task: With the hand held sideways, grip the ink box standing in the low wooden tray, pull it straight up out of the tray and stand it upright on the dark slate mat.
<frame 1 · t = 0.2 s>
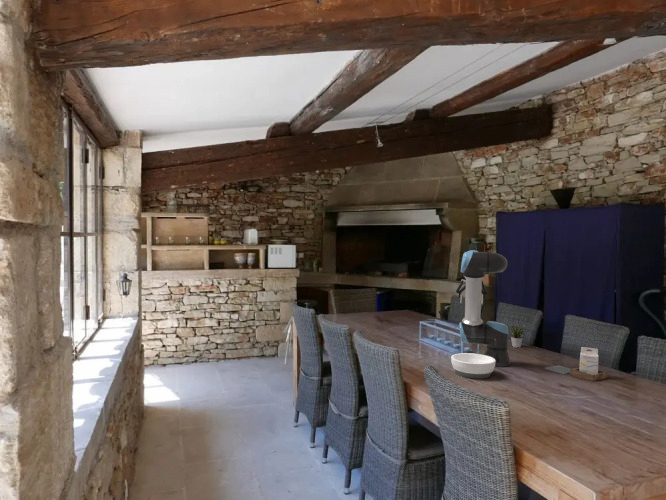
hand: (471, 302, 329), 28 cm above the table, tool tilted 20°, fingers open, 13 cm apart
wooden tray: (588, 376, 255), on the table
bowl: (472, 374, 257), on the table
ink box: (588, 376, 255), resting in wooden tray
house plant: (514, 346, 323), on the table
slate mat: (561, 370, 267), on the table
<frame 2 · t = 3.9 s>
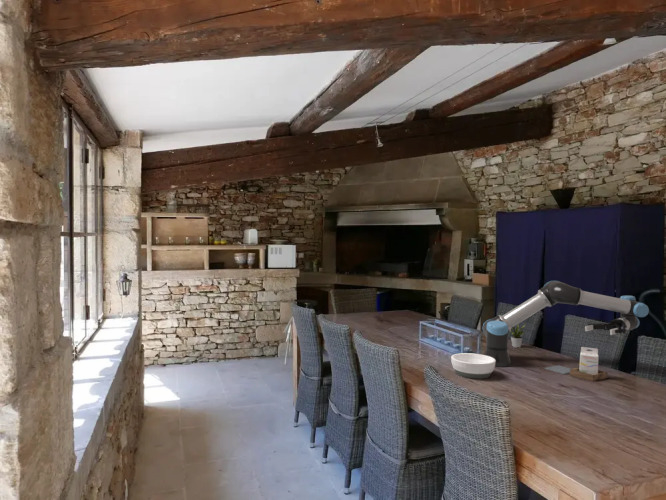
hand: (598, 330, 263), 23 cm above the table, tool horizontal, fingers open, 13 cm apart
nothing on the table moved.
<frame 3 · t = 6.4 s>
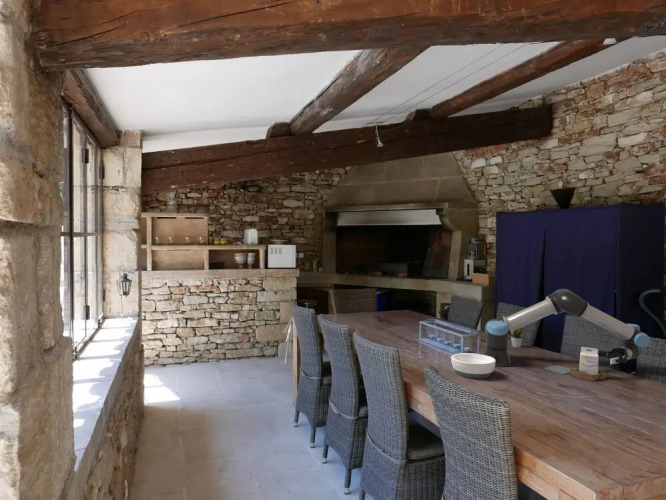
hand: (598, 358, 258), 9 cm above the table, tool horizontal, fingers open, 13 cm apart
nothing on the table moved.
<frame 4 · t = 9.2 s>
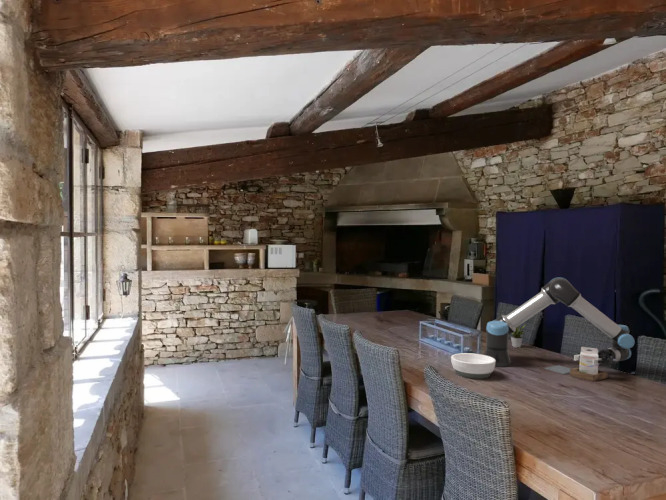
hand: (583, 360, 253), 9 cm above the table, tool horizontal, fingers closed on ink box, 9 cm apart
ink box: (588, 376, 255), resting in wooden tray, touching gripper
everything else where it was.
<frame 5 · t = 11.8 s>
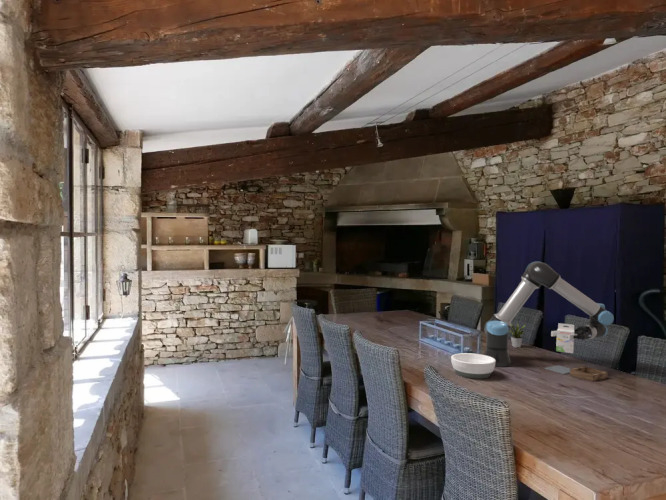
hand: (560, 335, 263), 20 cm above the table, tool horizontal, fingers closed on ink box, 9 cm apart
ink box: (564, 351, 265), point 10 cm above the table, touching gripper
everything else where it was.
when the fingers open (11 cm above the table, at t = 14.6 s): ink box drops 1 cm, resting on slate mat.
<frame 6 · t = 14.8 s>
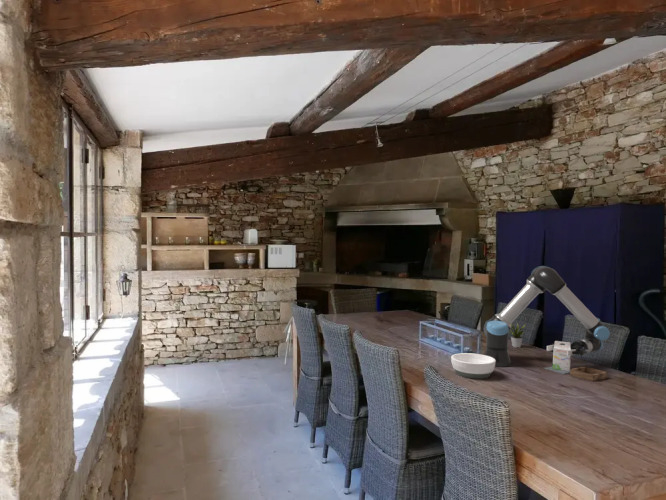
hand: (557, 350, 265), 11 cm above the table, tool horizontal, fingers open, 11 cm apart
ink box: (561, 369, 267), resting on slate mat
everything else where it was.
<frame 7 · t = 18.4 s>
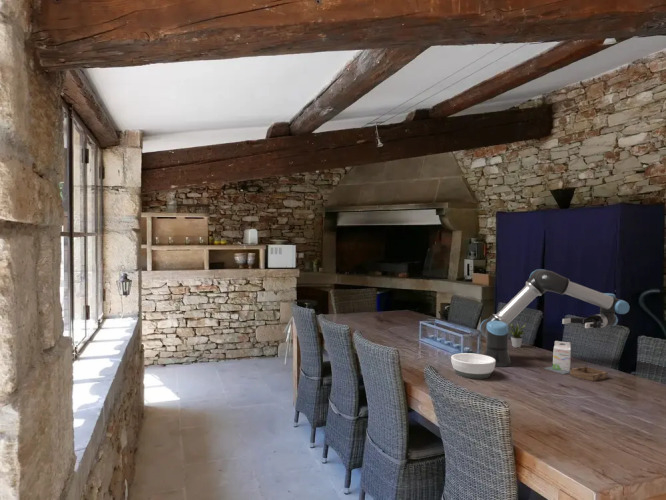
hand: (574, 323, 271), 25 cm above the table, tool horizontal, fingers open, 13 cm apart
nothing on the table moved.
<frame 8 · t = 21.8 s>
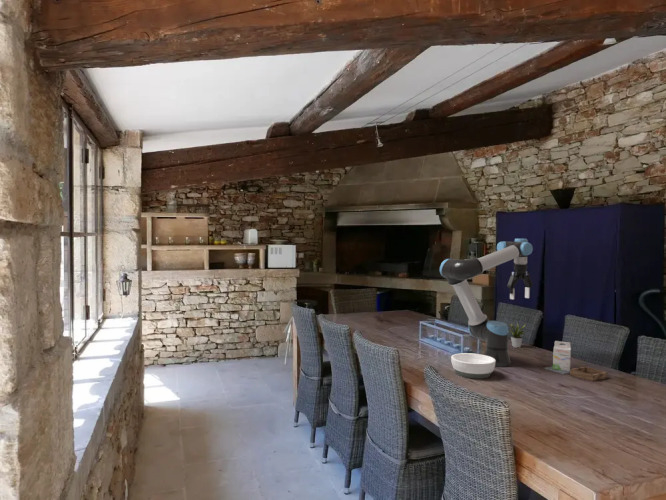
hand: (519, 298, 299), 35 cm above the table, tool pointing down, fingers open, 13 cm apart
nothing on the table moved.
at the end: ink box inside the target area on the slate mat (0.2 cm from its centre), point 0.3 cm above the slate mat's base; ink box tilted 0°; the gripper is holding nothing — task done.
